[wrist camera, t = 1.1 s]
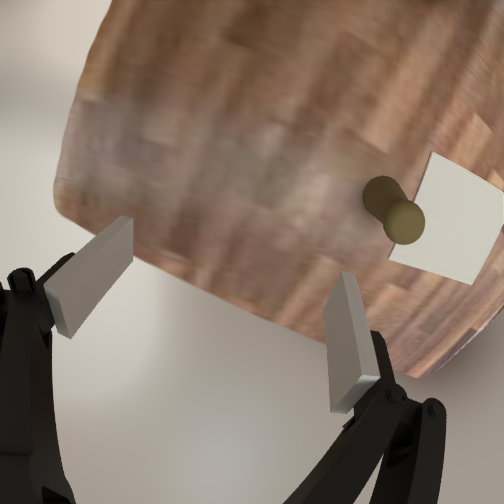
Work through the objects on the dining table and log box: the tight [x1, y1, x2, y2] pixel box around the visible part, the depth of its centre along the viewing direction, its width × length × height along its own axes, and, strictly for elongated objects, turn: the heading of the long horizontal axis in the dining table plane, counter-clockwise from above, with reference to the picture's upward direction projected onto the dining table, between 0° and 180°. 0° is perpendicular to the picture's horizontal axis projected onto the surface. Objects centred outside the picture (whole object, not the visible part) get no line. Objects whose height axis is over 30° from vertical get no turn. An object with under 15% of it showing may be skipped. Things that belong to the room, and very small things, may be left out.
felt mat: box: [388, 151, 504, 285], centre depth 37 cm, size 20×18×1 cm
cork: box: [363, 176, 425, 245], centre depth 33 cm, size 6×6×11 cm
